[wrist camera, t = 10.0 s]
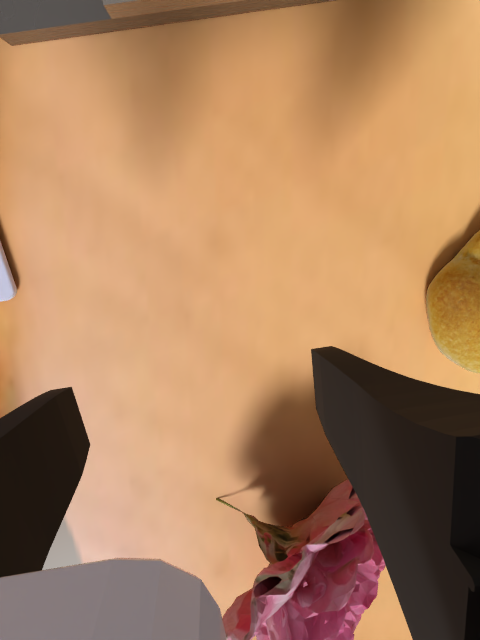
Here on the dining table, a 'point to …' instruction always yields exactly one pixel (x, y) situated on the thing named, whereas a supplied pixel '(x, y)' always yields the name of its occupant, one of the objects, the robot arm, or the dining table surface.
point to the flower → (311, 575)
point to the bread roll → (457, 307)
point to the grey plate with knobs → (113, 15)
